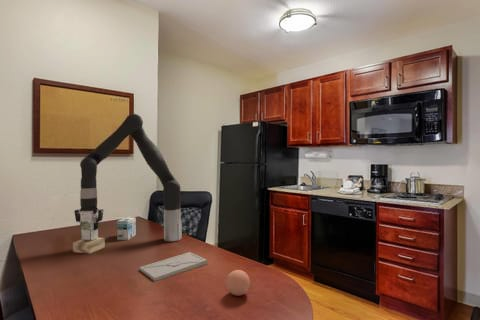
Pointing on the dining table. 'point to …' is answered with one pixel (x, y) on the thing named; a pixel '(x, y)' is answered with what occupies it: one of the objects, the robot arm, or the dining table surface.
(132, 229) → the light bulb box
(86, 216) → the syrup box
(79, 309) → the dining table surface
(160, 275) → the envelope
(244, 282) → the toy ball
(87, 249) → the maple block
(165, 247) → the dining table surface
